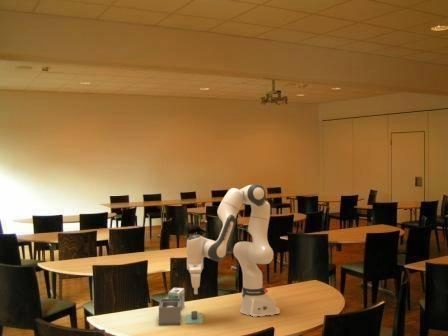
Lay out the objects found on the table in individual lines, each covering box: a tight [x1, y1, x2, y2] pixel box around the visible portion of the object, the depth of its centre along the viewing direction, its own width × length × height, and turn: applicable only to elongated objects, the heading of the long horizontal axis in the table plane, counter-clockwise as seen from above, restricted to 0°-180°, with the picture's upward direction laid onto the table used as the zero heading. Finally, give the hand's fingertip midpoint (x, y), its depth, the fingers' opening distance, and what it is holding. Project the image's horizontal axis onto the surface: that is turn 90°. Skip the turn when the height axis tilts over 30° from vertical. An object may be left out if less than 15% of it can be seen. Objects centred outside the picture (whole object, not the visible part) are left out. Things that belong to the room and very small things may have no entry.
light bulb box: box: [167, 287, 185, 310], centre depth 262 cm, size 11×7×11 cm, turn 168°
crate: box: [158, 298, 182, 326], centre depth 243 cm, size 11×15×9 cm
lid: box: [185, 310, 204, 325], centre depth 244 cm, size 9×13×5 cm
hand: (195, 291), depth 244 cm, fingers open, 8 cm apart
